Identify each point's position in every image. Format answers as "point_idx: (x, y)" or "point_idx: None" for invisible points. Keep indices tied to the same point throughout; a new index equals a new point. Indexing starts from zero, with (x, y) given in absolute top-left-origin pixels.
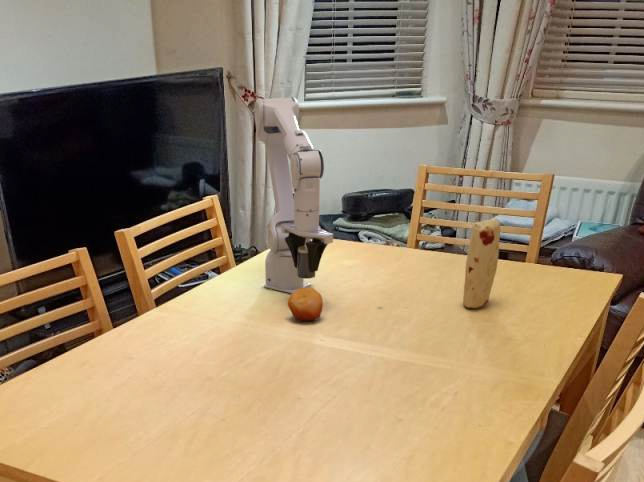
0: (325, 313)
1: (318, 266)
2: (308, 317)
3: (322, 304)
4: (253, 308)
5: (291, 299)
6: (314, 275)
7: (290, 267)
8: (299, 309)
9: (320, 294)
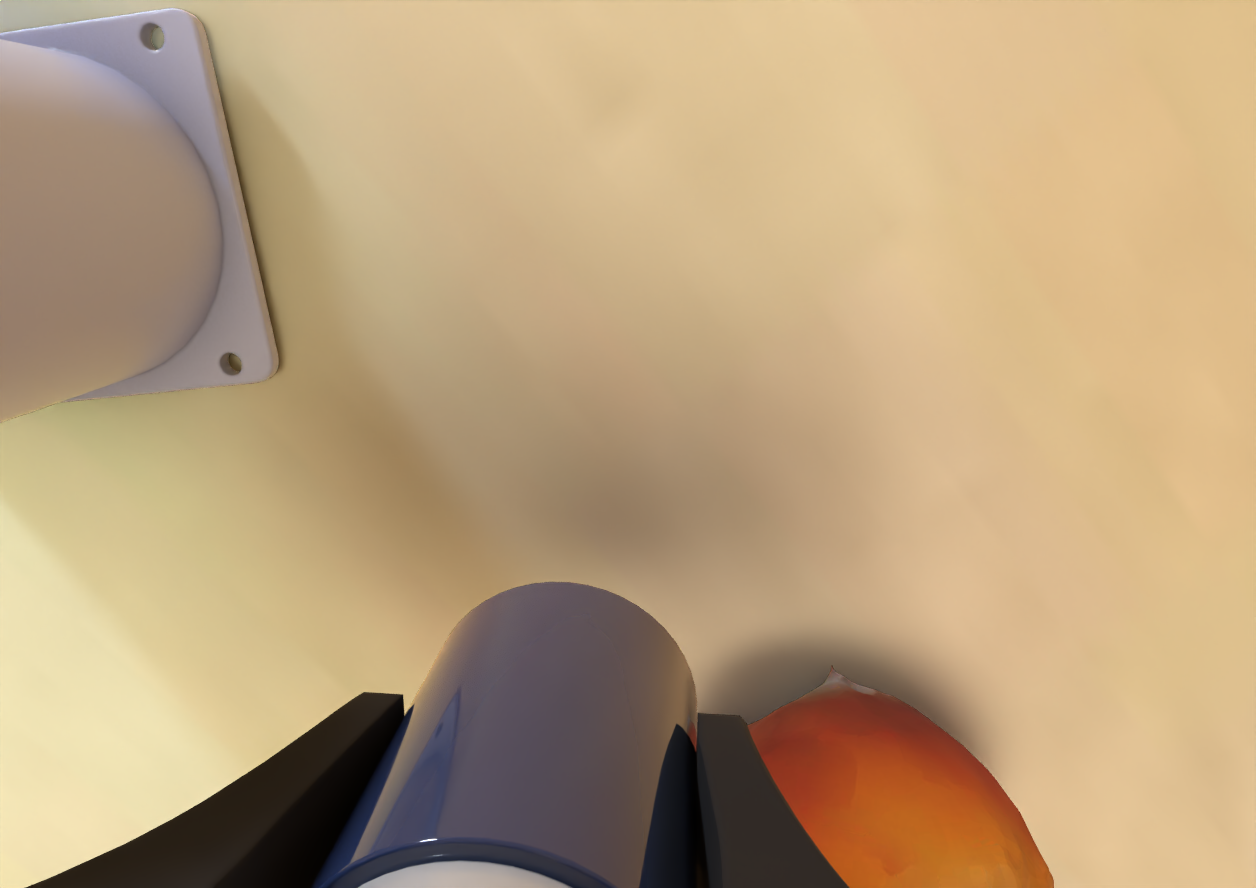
0: (893, 576)
1: (754, 749)
2: None
3: (1029, 832)
4: None
5: None
6: (693, 688)
7: (13, 390)
8: None
9: (1010, 878)
